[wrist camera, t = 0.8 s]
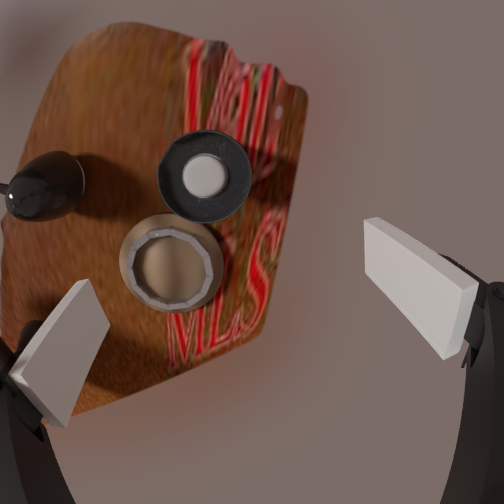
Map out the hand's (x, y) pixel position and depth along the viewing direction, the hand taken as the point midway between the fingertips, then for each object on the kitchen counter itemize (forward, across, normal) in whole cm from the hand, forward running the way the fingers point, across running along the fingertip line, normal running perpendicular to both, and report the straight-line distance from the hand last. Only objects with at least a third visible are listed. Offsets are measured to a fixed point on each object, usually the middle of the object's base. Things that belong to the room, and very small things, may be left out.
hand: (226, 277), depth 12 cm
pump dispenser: (+31, -25, +7) cm, 40 cm away
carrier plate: (+31, -11, -11) cm, 34 cm away
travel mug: (+31, -1, +3) cm, 31 cm away
